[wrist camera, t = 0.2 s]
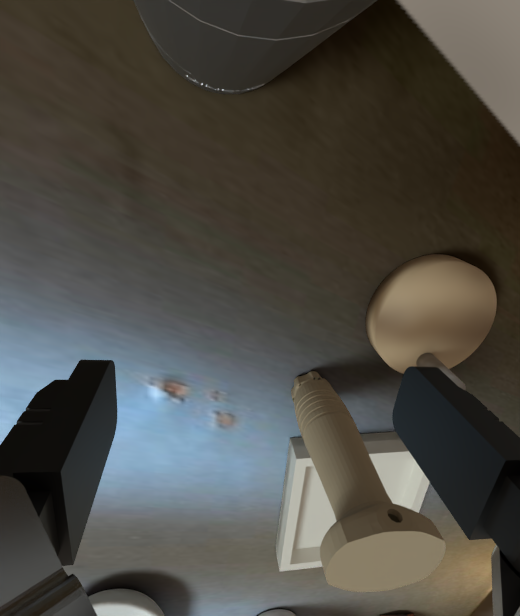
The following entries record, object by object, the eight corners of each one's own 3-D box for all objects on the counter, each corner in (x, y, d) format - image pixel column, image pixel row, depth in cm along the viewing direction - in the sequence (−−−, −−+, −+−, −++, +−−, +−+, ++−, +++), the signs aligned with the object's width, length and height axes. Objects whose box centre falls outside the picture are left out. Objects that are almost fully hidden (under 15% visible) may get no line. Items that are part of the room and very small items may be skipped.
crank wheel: (379, 252, 28) (421, 280, 23) (495, 255, 30) (561, 282, 24) (355, 364, 32) (387, 410, 27) (459, 361, 34) (508, 404, 28)
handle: (278, 358, 31) (342, 532, 17) (350, 364, 32) (459, 530, 19) (267, 404, 32) (315, 594, 19) (334, 409, 34) (424, 588, 20)
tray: (290, 438, 35) (296, 458, 32) (426, 430, 37) (441, 449, 35) (275, 547, 41) (279, 571, 39) (392, 535, 43) (402, 556, 41)
